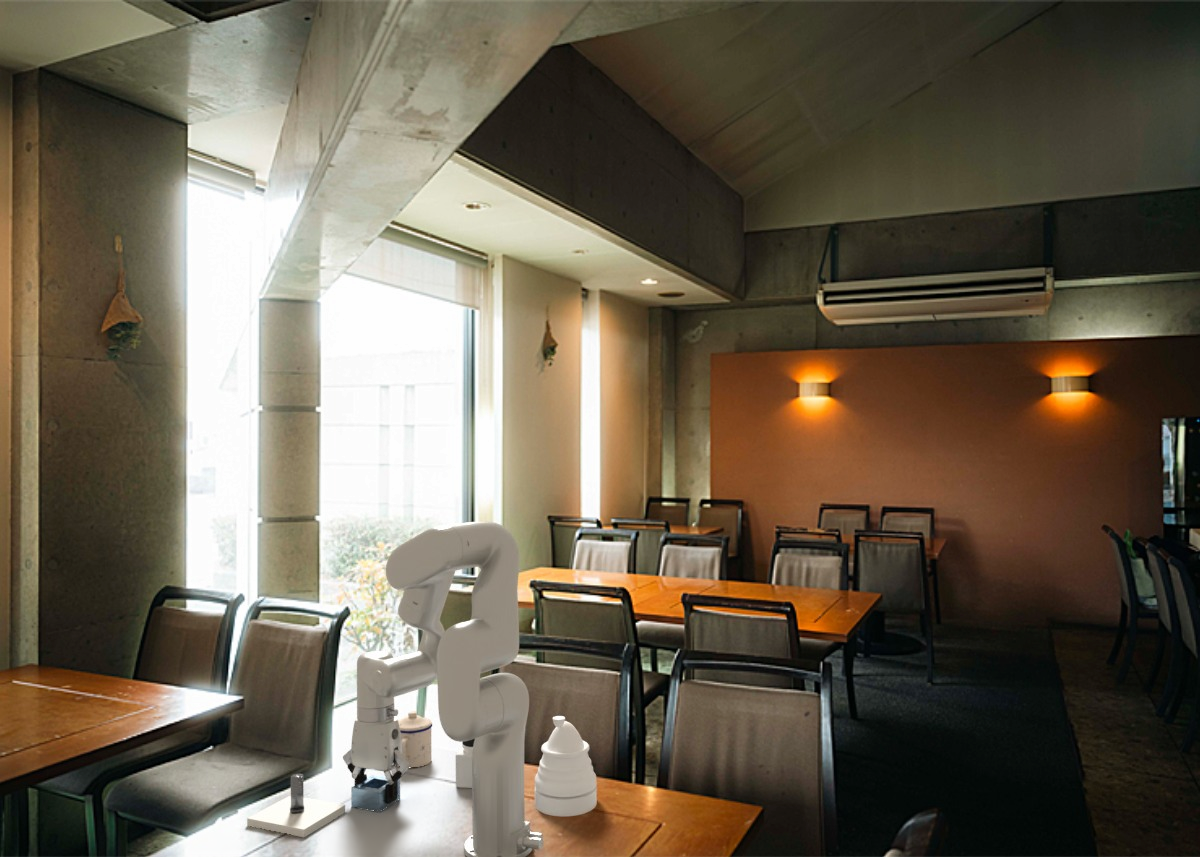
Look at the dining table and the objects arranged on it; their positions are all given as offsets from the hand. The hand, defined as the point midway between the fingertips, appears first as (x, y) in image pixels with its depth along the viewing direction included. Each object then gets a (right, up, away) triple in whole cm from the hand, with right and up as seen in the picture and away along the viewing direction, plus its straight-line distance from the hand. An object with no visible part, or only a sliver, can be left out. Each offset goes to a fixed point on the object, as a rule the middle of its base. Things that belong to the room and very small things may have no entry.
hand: (376, 798), depth 176 cm
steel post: (-14, +1, -7) cm, 16 cm away
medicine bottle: (+19, -1, +10) cm, 22 cm away
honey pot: (+40, -1, -1) cm, 40 cm away
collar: (0, -1, 0) cm, 1 cm away
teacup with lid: (+2, -2, +22) cm, 22 cm away
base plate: (-14, -1, -7) cm, 16 cm away
